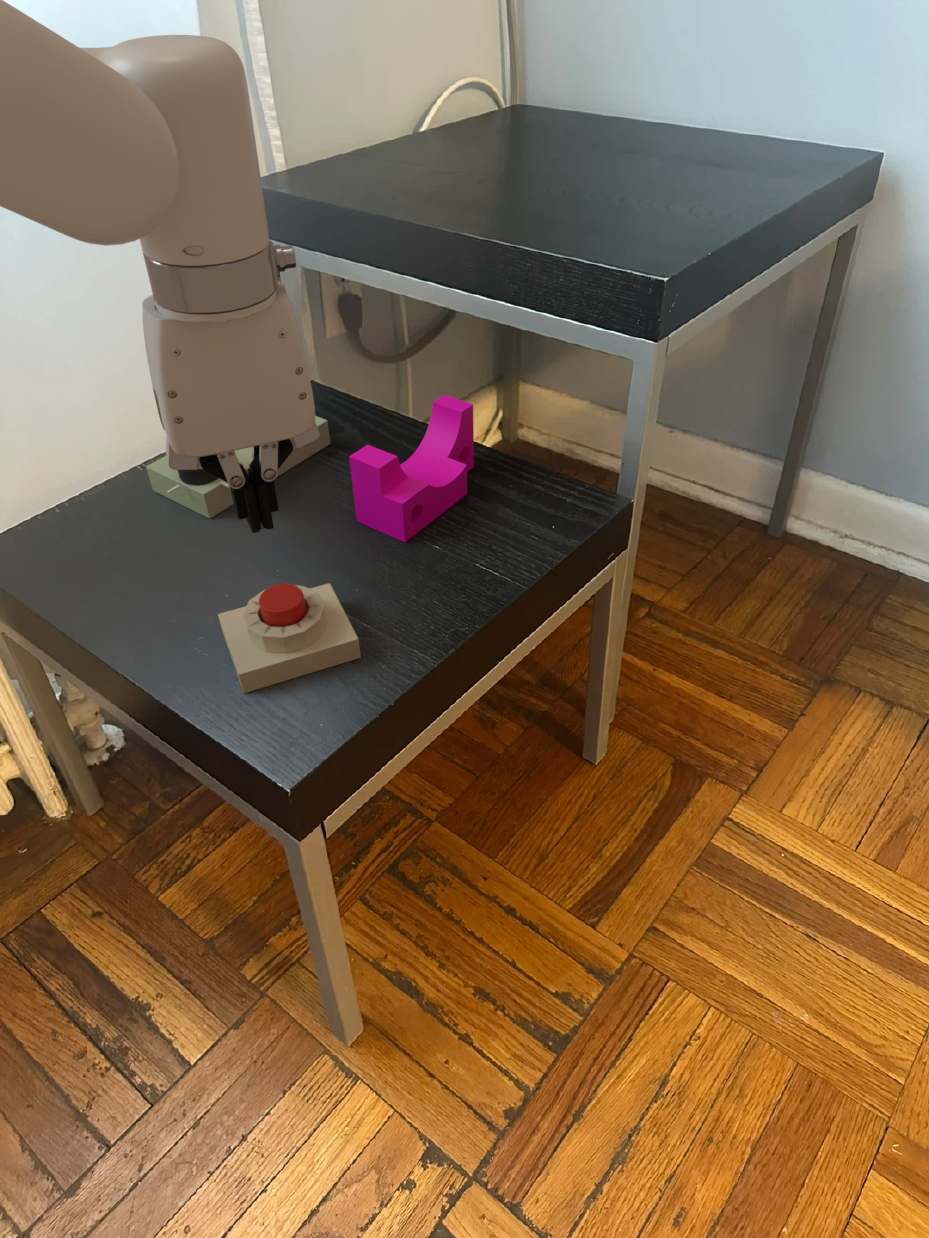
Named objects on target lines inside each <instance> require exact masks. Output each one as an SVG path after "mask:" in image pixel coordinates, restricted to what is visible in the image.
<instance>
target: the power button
mask: <svg viewBox="0 0 929 1238" xmlns="http://www.w3.org/2000/svg"><path fill="white" fill-rule="evenodd" d="M297 586H298V585H297ZM297 586H294V584H290V583H279V584H275V585H272V586H269V587H268V588H266V589H264V590H265V591H264V592H263V593H262V594H261V595H260V598H259V605H260V609H261V613H262V618H263V620H264V621H265V623H267V624H268V625H270V626H272V627H287V626H290V625H294V624H297V623H298V622H300V621H301V620H302V619H303V618H304V616H305V614H306V607H305V601H304V596H303V592H302V591H301V589H300V588H298V587H297Z"/></svg>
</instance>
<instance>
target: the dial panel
mask: <svg viewBox="0 0 929 1238" xmlns="http://www.w3.org/2000/svg"><path fill="white" fill-rule="evenodd" d="M315 423H316V425H317V427H318V430H319V432H320V436H319V438H318V439H317V440H316V441H314V442H312V443H310V444H307V445H305V446H303V447H301V448H298V449H297V448H296V449H294V450H293V451H292V453H291V454H290V455H289V456H288V458H287V459H286V460H285V461H284V463H283V464H282V465H281V467H280V468H279V469H278V476H277V478H278V477H279V476H281V475H283V474H284V473H286V472H287V471H289V470H290V469H292V468H294V467H295V466H298V465H299V464H300V463H302V462H303V461H305V460H307V459H309V458H310V457H312V456H314V455H315V454H317V453H319V452H320V451H321V450H323V449H325V448H326V447H328V446H329V445H331V436H330V428H329V422H328V420H327V419H325V418H323V417H320V416H317V415H315ZM234 452H235V454H236V457H237V459H238V462H239V463H240V464H242V465H243V467H244V469H246V471H247V474H248V469H249V468H250V467H249V464H250V463H251V462H252V460H253V457H252V447H249V448H244V449H239V450H234ZM145 469H146V472H147V475H148V478H149V482H150V485H151V489H152V491H153V492H155V493H157V494H159V495H161V496H163V497H165V498H167V499H169V500H170V501H173V502H175V503H177V504H179V505H182V506H183V507H185V508H187V509H189V510H191V511H193V512H195V513H197V514H199V515H201V516H203V517H205V518H207V519H212V518H214V517H215V516H217V515H218V514H220V513H223V511H225V510H226V509H228V508H230V507H232V506H234V504H233V499H232V494H231V489H230V486H229V484H228V483H227V482H225V481H223V480H222V479H220V478H218V479H216V480H215V481H213V482H210V483H207V484H202V485H190V484H186V483H184V482H182V481H181V479H180V478H179V474H178V470H173V469H172V468H170V466H169V464H168V461H167V458H166V455H164V456H163V457H161V458H159V459H157V460H155V461H153V462H151V463H150V464H148V465H145ZM248 476H249V475H248Z"/></svg>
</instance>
